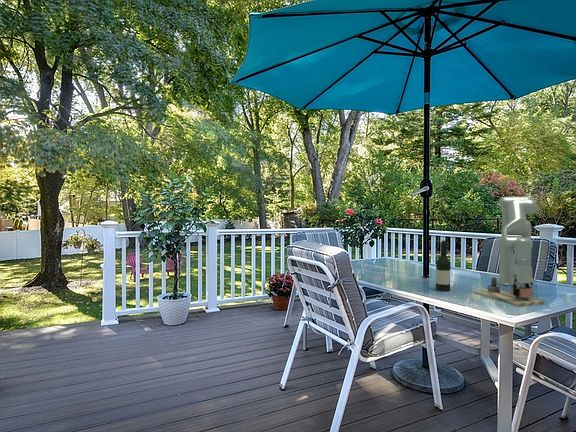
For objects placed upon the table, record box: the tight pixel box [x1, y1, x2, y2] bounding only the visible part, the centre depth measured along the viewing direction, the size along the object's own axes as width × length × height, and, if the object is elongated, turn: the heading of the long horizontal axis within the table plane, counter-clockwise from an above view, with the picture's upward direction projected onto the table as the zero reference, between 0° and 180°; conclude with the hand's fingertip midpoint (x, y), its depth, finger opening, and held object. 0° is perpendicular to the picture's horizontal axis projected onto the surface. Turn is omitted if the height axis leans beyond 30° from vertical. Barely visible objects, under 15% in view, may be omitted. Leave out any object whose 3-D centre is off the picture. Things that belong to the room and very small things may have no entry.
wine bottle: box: [435, 240, 452, 293], centre depth 222 cm, size 8×8×30 cm
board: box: [472, 277, 546, 307], centre depth 204 cm, size 18×30×10 cm, turn 17°
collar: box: [510, 285, 534, 298], centre depth 195 cm, size 7×7×4 cm
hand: (521, 295), depth 195 cm, fingers closed on collar, 6 cm apart
